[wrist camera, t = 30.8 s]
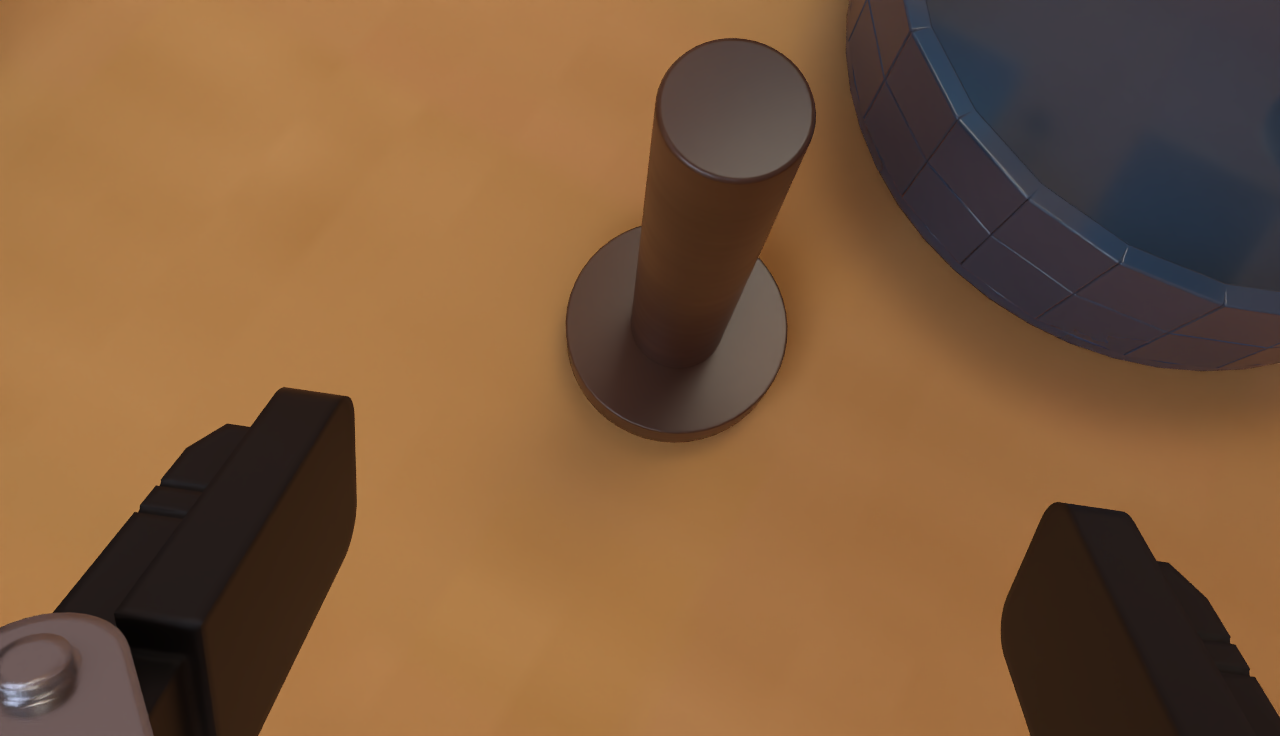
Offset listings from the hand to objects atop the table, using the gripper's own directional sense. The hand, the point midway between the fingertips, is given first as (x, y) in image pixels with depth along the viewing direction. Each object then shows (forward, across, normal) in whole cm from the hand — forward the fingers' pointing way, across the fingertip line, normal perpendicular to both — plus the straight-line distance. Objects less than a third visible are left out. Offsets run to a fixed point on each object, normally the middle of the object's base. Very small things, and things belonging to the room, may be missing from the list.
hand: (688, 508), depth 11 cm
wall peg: (+15, 0, +6) cm, 17 cm away
